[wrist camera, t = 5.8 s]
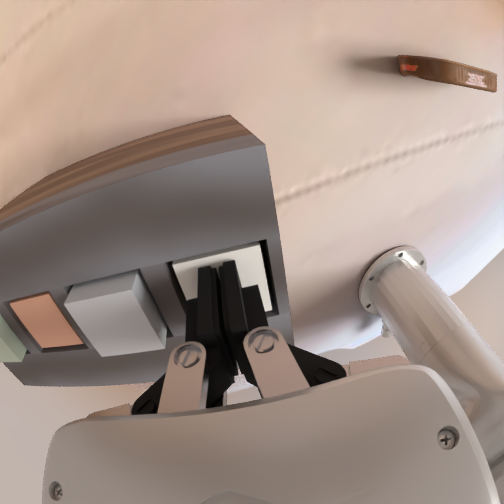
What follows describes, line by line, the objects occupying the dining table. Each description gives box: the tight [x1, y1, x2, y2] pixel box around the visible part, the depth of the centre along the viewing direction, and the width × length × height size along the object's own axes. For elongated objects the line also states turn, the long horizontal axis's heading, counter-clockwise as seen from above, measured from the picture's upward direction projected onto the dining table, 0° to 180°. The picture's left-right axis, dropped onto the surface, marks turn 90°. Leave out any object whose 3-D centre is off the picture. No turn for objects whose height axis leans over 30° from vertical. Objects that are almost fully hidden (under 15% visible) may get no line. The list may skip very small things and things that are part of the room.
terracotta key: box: [9, 291, 84, 348], centre depth 14 cm, size 4×4×2 cm
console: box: [0, 115, 294, 386], centre depth 20 cm, size 12×22×19 cm, turn 100°
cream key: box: [172, 241, 272, 312], centre depth 14 cm, size 4×4×2 cm
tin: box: [398, 55, 497, 92], centre depth 21 cm, size 15×3×8 cm, turn 101°
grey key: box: [64, 268, 167, 357], centre depth 13 cm, size 4×4×2 cm
